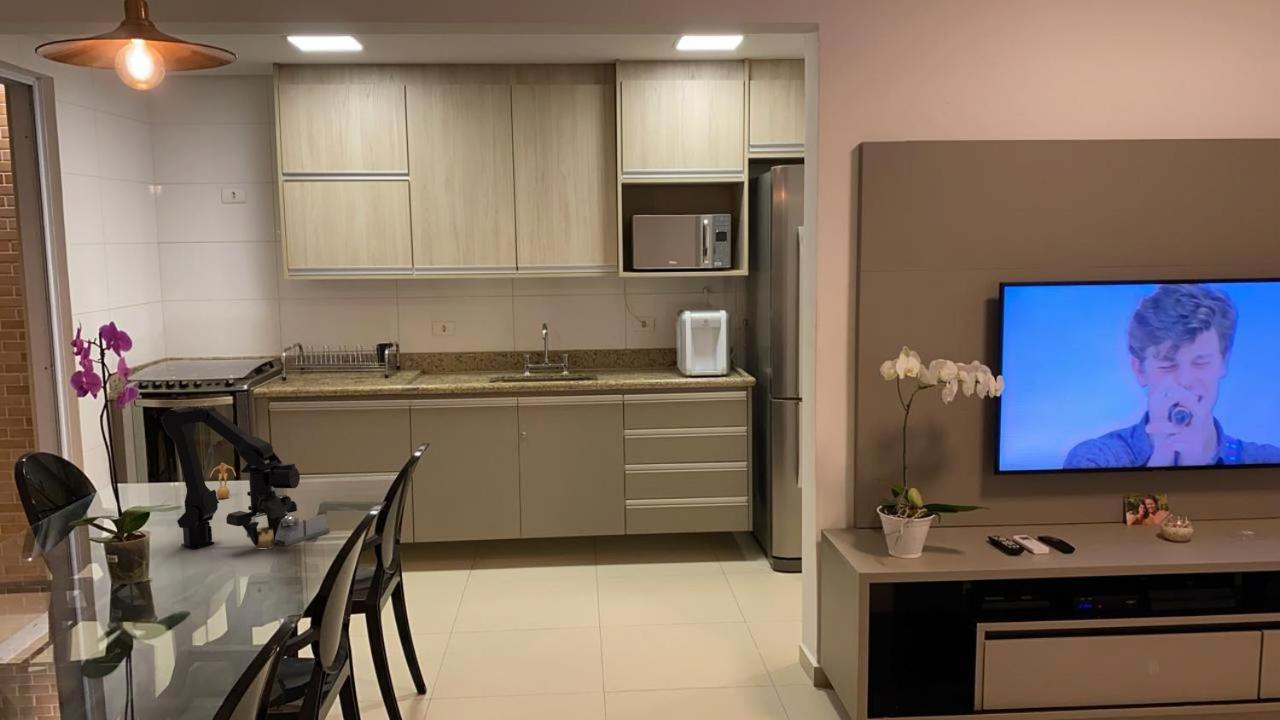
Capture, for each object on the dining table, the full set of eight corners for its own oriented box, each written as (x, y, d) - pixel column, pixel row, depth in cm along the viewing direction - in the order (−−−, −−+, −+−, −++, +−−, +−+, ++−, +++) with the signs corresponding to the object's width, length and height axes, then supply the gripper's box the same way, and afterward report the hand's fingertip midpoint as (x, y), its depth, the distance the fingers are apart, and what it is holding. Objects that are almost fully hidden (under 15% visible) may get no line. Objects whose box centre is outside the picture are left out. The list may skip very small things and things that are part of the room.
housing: (262, 550, 258) (260, 531, 258) (251, 547, 261) (250, 529, 261) (278, 545, 263) (276, 527, 262) (267, 543, 265) (265, 524, 265)
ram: (287, 527, 275) (285, 499, 274) (272, 524, 279) (270, 496, 278) (298, 524, 279) (297, 496, 278) (284, 520, 282) (282, 493, 282)
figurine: (209, 500, 315) (206, 465, 313) (212, 496, 320) (210, 462, 319) (235, 498, 317) (233, 464, 315) (238, 494, 322) (236, 460, 321)
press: (285, 545, 262) (284, 526, 262) (247, 536, 272) (245, 517, 272) (329, 532, 275) (328, 513, 274) (291, 523, 285) (290, 505, 284)
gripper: (248, 498, 248) (251, 556, 250) (307, 484, 263) (310, 538, 265) (223, 493, 254) (227, 549, 256) (283, 479, 270) (286, 532, 271)
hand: (264, 542), depth 262 cm, fingers closed on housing, 5 cm apart
